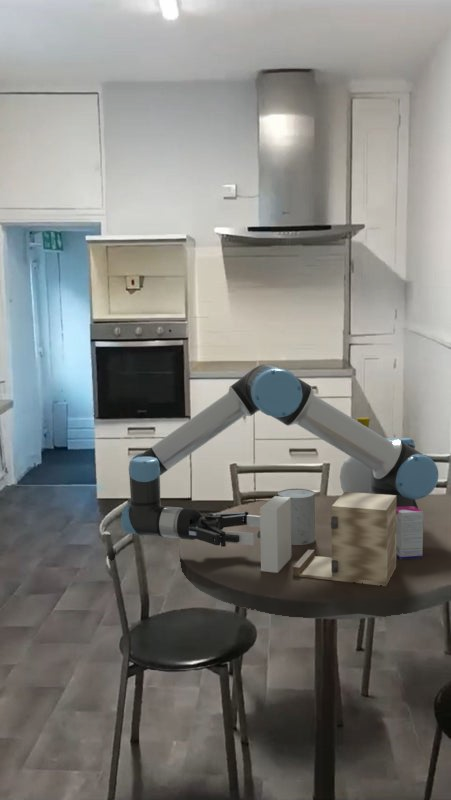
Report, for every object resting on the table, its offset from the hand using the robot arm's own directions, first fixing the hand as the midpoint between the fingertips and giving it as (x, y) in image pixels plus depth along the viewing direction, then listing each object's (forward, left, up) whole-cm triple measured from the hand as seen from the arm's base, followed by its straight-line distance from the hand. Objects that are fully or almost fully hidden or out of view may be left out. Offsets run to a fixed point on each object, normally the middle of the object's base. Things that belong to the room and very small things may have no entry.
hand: (263, 530), depth 191 cm
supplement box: (-35, +2, -8) cm, 36 cm away
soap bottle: (-40, -46, -8) cm, 62 cm away
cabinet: (-17, +10, -8) cm, 21 cm away
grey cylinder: (-12, -16, -8) cm, 22 cm away
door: (-3, +1, -8) cm, 9 cm away
